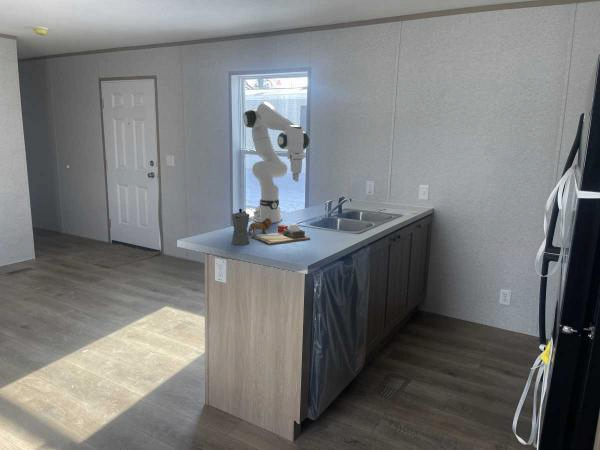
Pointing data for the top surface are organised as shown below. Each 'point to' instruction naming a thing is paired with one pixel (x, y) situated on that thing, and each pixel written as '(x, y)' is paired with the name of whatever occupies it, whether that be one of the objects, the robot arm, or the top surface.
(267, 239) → the wooden cutting board
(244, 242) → the coffeepot
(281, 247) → the top surface
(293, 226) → the dome
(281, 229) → the red die
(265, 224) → the lion figurine
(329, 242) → the top surface
